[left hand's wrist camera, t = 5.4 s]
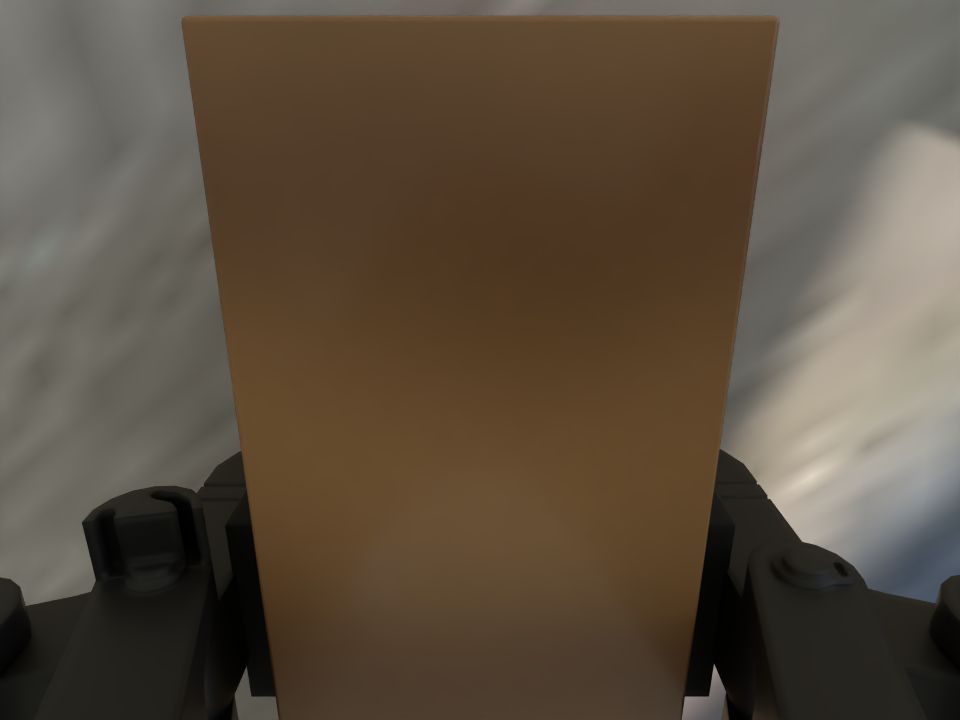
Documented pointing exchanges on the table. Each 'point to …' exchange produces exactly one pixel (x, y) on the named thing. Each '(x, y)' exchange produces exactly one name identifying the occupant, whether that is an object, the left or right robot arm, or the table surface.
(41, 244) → the table surface
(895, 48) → the table surface
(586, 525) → the beam
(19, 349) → the table surface
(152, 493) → the left robot arm
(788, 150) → the table surface
